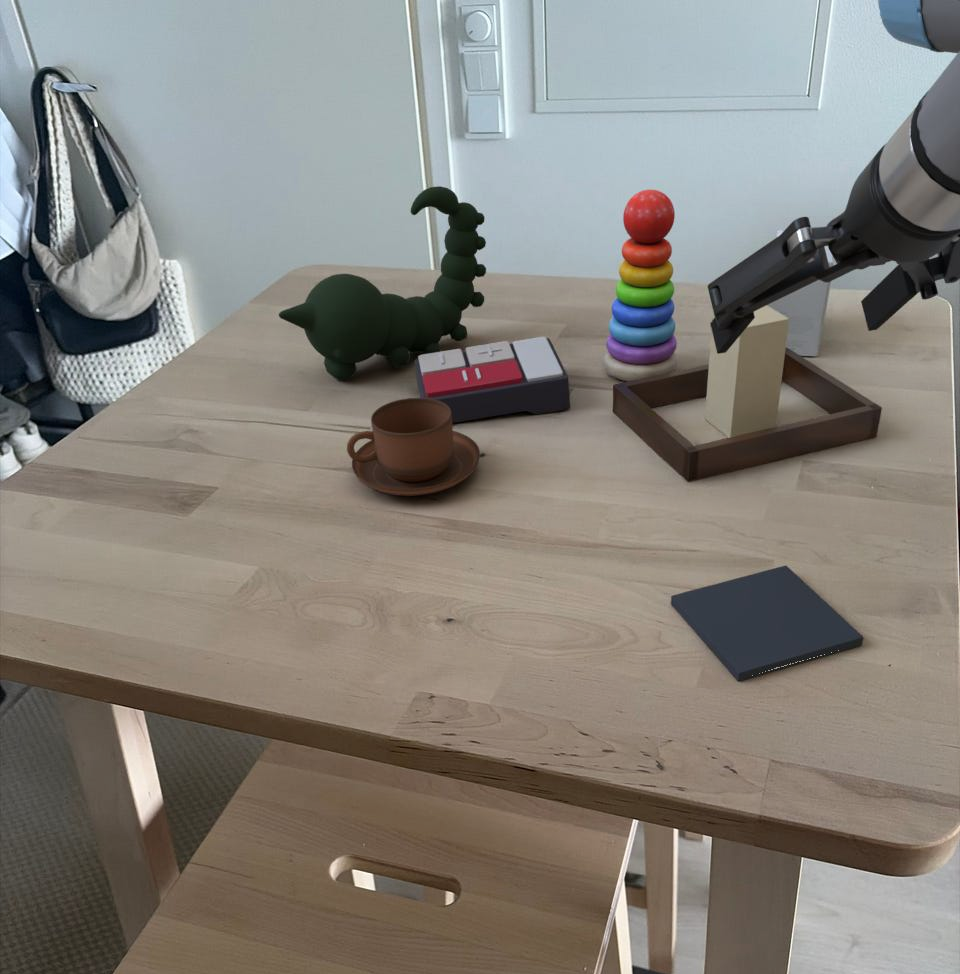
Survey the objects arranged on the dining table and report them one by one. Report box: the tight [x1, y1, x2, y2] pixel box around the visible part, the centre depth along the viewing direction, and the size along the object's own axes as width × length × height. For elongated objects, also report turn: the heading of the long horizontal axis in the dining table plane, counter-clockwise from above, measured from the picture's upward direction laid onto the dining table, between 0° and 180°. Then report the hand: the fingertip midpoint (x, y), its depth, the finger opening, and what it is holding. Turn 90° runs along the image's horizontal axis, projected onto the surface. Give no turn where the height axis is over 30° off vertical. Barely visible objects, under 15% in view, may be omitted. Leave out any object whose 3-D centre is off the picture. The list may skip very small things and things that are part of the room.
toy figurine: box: [278, 185, 487, 381], centre depth 113 cm, size 9×19×25 cm
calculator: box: [413, 336, 571, 424], centre depth 109 cm, size 11×4×15 cm
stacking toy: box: [603, 189, 678, 382], centre depth 107 cm, size 8×8×19 cm
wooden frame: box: [612, 348, 883, 483], centre depth 100 cm, size 20×16×3 cm
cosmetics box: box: [767, 229, 834, 357], centre depth 114 cm, size 10×6×10 cm, turn 165°
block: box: [704, 305, 789, 438], centre depth 98 cm, size 5×5×11 cm
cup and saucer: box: [346, 397, 481, 497], centre depth 95 cm, size 12×12×6 cm
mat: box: [670, 565, 864, 682], centre depth 76 cm, size 10×10×1 cm
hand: (793, 326), depth 87 cm, fingers open, 13 cm apart
